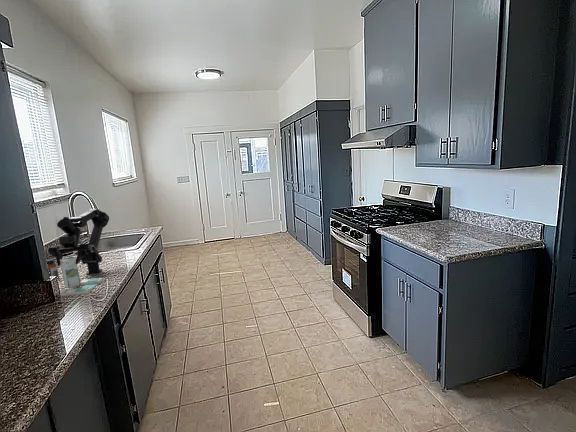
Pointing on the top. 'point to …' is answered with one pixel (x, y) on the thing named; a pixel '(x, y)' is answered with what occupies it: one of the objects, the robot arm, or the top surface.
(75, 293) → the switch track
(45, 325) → the top surface
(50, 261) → the supplement bottle
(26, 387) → the top surface
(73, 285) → the syrup box
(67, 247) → the robot arm
